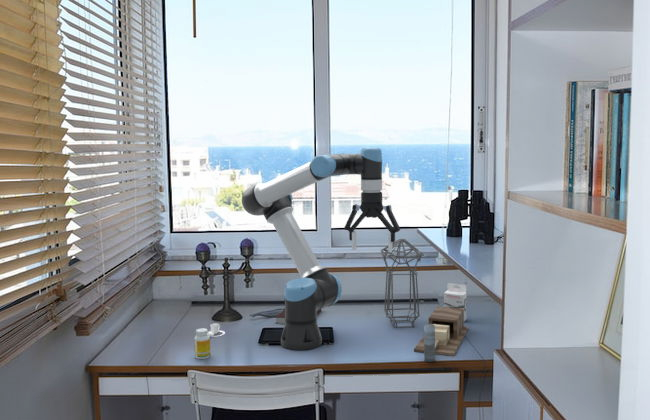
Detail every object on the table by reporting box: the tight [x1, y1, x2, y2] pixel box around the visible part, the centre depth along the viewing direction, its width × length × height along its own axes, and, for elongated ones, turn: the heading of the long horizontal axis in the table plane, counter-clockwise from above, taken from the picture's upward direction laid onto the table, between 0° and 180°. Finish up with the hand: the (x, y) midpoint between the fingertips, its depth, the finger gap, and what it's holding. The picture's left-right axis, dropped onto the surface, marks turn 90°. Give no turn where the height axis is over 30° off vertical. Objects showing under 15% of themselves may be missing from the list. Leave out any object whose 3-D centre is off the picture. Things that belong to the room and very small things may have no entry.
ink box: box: [443, 282, 468, 322], centre depth 248 cm, size 8×5×15 cm, turn 61°
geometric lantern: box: [380, 238, 425, 329], centre depth 242 cm, size 16×16×35 cm
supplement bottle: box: [193, 327, 211, 360], centre depth 210 cm, size 5×5×10 cm
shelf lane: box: [413, 306, 469, 357], centre depth 224 cm, size 32×14×8 cm, turn 158°
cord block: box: [423, 323, 449, 363], centre depth 211 cm, size 22×6×12 cm, turn 158°
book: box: [275, 308, 322, 325], centre depth 257 cm, size 14×22×4 cm, turn 164°
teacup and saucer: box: [207, 322, 226, 338], centre depth 236 cm, size 9×8×4 cm
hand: (372, 250), depth 217 cm, fingers open, 13 cm apart
